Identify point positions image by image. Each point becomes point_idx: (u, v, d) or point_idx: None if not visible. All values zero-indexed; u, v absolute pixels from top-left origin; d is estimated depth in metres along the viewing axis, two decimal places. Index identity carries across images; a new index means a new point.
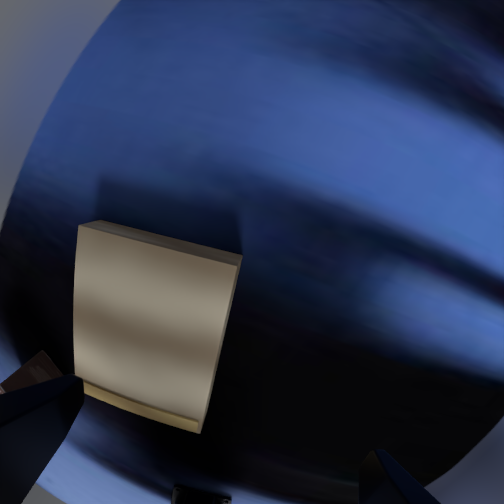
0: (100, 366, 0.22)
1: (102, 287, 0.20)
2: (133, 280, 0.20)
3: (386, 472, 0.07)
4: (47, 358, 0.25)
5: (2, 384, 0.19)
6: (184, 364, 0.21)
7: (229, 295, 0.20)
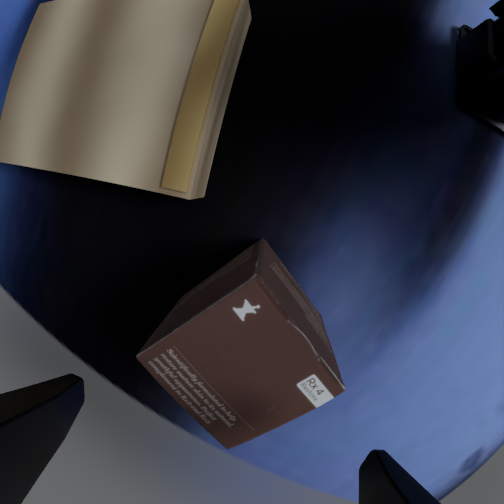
0: (131, 133, 0.14)
1: (36, 126, 0.14)
2: (33, 87, 0.14)
3: (386, 472, 0.07)
4: (192, 289, 0.18)
5: None
6: (121, 17, 0.13)
7: (59, 0, 0.12)
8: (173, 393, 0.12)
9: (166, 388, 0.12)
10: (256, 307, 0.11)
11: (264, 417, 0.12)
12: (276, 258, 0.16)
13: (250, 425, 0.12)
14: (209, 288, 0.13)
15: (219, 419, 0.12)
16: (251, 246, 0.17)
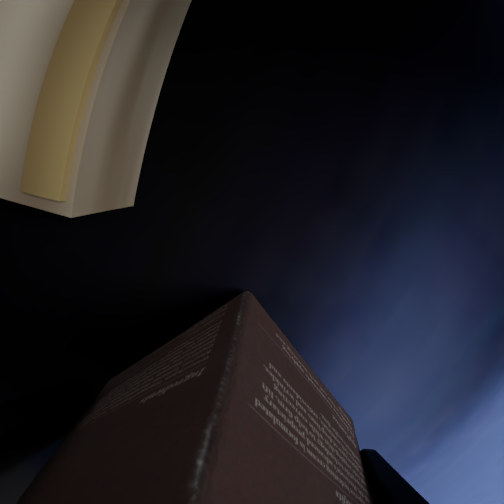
0: None
1: None
2: None
3: (375, 472, 0.07)
4: (122, 372, 0.09)
5: None
6: None
7: None
8: None
9: None
10: None
11: None
12: (274, 339, 0.07)
13: None
14: (109, 438, 0.04)
15: None
16: (222, 309, 0.08)
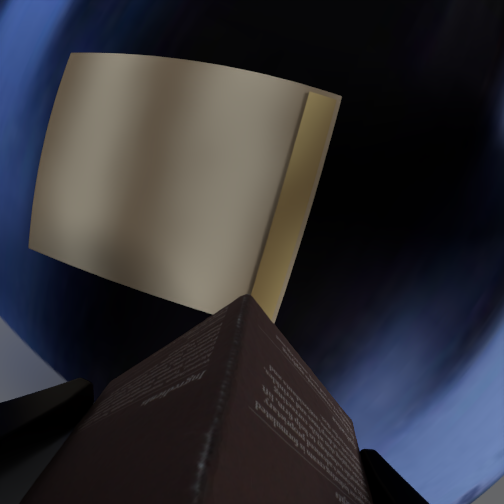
0: (209, 258, 0.14)
1: (84, 223, 0.14)
2: (74, 172, 0.14)
3: (375, 472, 0.07)
4: (123, 374, 0.09)
5: None
6: (187, 102, 0.13)
7: (97, 54, 0.13)
8: None
9: None
10: None
11: None
12: (274, 342, 0.07)
13: None
14: (110, 440, 0.05)
15: None
16: (223, 312, 0.08)
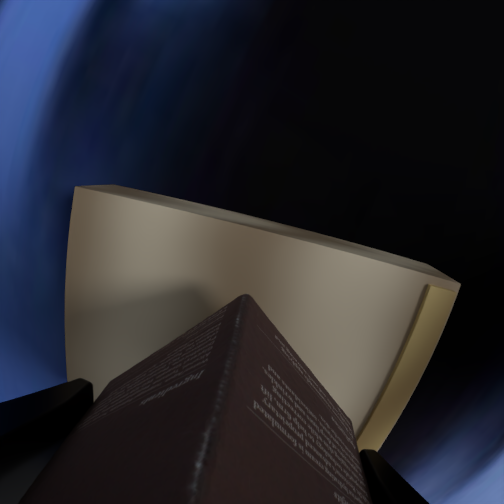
0: None
1: None
2: (119, 363, 0.11)
3: (375, 472, 0.07)
4: (122, 374, 0.09)
5: None
6: (275, 299, 0.10)
7: (119, 198, 0.10)
8: None
9: None
10: None
11: None
12: (273, 341, 0.07)
13: None
14: (109, 440, 0.05)
15: None
16: (221, 311, 0.08)
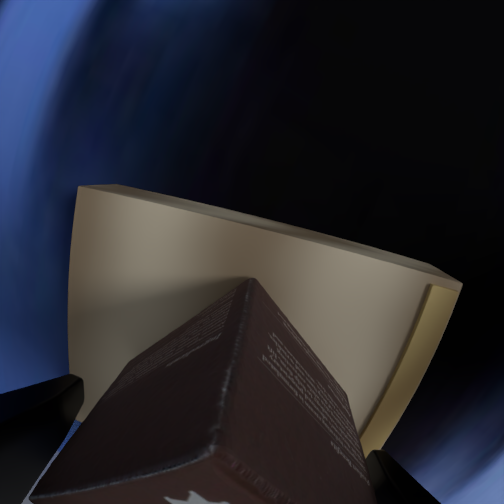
0: None
1: None
2: (122, 363, 0.11)
3: (386, 472, 0.07)
4: (141, 353, 0.11)
5: (34, 488, 0.04)
6: (278, 298, 0.10)
7: (122, 197, 0.10)
8: None
9: None
10: None
11: None
12: (276, 316, 0.09)
13: None
14: (140, 395, 0.06)
15: None
16: (232, 292, 0.09)
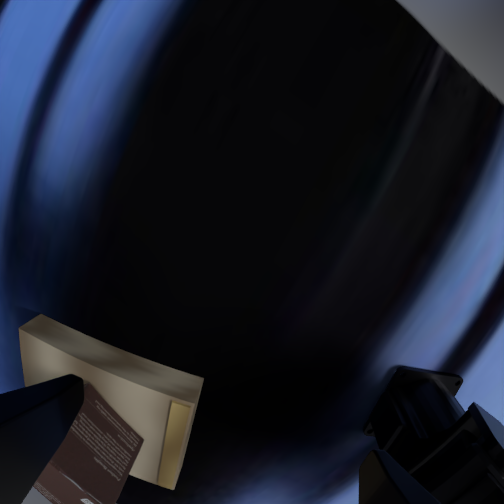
0: None
1: None
2: None
3: (386, 472, 0.07)
4: None
5: None
6: (102, 392, 0.19)
7: (36, 338, 0.18)
8: None
9: None
10: None
11: None
12: (92, 403, 0.17)
13: None
14: None
15: (53, 499, 0.13)
16: None
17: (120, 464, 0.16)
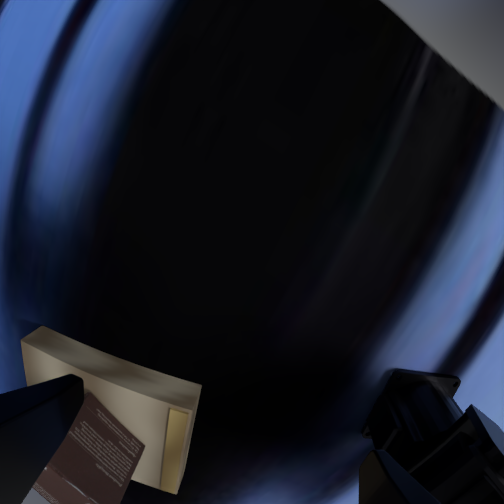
0: None
1: None
2: None
3: (386, 472, 0.07)
4: None
5: None
6: (102, 400, 0.19)
7: (38, 350, 0.19)
8: (32, 487, 0.13)
9: None
10: (45, 467, 0.12)
11: None
12: (93, 412, 0.18)
13: None
14: None
15: None
16: None
17: (122, 470, 0.16)
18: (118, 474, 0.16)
